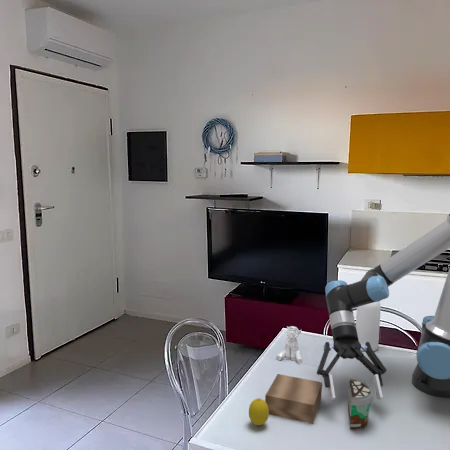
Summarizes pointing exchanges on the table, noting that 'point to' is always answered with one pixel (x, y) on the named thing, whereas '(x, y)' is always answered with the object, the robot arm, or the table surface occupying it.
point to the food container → (358, 403)
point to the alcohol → (368, 324)
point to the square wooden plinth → (294, 398)
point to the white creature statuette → (291, 346)
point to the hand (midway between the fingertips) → (356, 399)
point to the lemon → (258, 411)
